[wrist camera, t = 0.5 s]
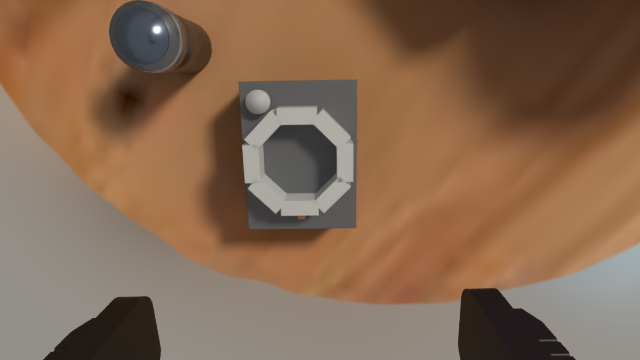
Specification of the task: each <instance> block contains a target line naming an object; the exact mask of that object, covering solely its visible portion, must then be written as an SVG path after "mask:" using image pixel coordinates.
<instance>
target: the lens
mask: <svg viewBox="0 0 640 360" xmlns="http://www.w3.org/2000/svg"><path fill="white" fill-rule="evenodd" d="M109 35H110V41H111V44H112V47H113V49H114V51H115V53H116V54H117V55H118V57H119V58H120V59H121V60H122V61H123V62H124V63H125V64H127V65H128V66H130V67H132V68H134V69H137V70H140V71H143V72H148V73H166V72H167V73H181V74H194V73H197V72H199V71H201V70H202V69H204V68H205V66H206V65H207V64H208V62H209V60H210V57H211V51H212V48H211V42H210V39H209V37H208V35H207V33H206V32H205V31H204V30H203V29H202V28H201V27H200V26H199V25H197V24H195V23H193V22H191V21H189V20H187V19H185V18H182V17H180V16H178V15H176V14H174V13H173V12H172V11H170V10H169V9H166V8H164V7H162V6H160V5H158V4H156V3H153V2H147V1H142V0H136V1H130V2H127V3H125V4H124V5H122V6H121V7H119V8H118V9H117V11H116V12H115V13H114V15H113V17H112V19H111V22H110V27H109Z"/></svg>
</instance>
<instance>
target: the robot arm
mask: <svg viewBox="0 0 640 360" xmlns="http://www.w3.org/2000/svg"><path fill="white" fill-rule="evenodd" d="M458 348H459V354H460V360H575V358H574V357H573V356H570V355H569V352H568V351H567V349H566V348H565V347H564V346H563V345H562V344H561V343H560V342H558V341H557V338H556V337H555V336H554V335H553V334H552V333H551V331H550V330H549V329H548V328H547V327H546V326H545V324H544V323H543V322H542V321H540V320H538V319H537V318H535V317H534V316H532V315H531V314H529V313H528V312H526V311H525V310H523V309H513V308H512V306H511V305H510V304H509V303H508V301H507V300H506V299H505V298H504V297H503V295H502V294H501V293H500V292H499V291H498V290H497V289H496V288H483V289H464V290H463V292H462V296H461V309H460V322H459V336H458ZM160 353H161V347H160V341H159V336H158V330H157V325H156V319H155V314H154V309H153V304H152V301H151V299H150V298H149V297H146V296H142V297H117V298H115V299H114V300H113V301H112V302H111V303H110V304H109V305H108V306H107V307H106V308H105V309H104V310H103V311H102V312H101V313H100V314H99V315H98V316H97V317H96V318H92V319H91V320H89V321H88V322H86V323H84V324H83V325H81V326H80V327H78V328H76V329H75V330H73V331H72V332H70V334H68V335H67V336H66V337H65V338H64V339H63V340H62V341H61V342H60V344H58V345H57V346H56V347H55V350H54V352H50V354H48V356H46V357H45V358H44V359H43V360H160V355H161V354H160Z"/></svg>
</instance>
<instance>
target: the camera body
mask: <svg viewBox="0 0 640 360" xmlns="http://www.w3.org/2000/svg"><path fill="white" fill-rule="evenodd" d="M238 83H239V97H240V111H241V125H242V139H243V145H242V150H243V164H244V178H245V183H246V195H247V209H248V223H249V229H320V228H356V154H357V80H312V81H258V82H238Z"/></svg>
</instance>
